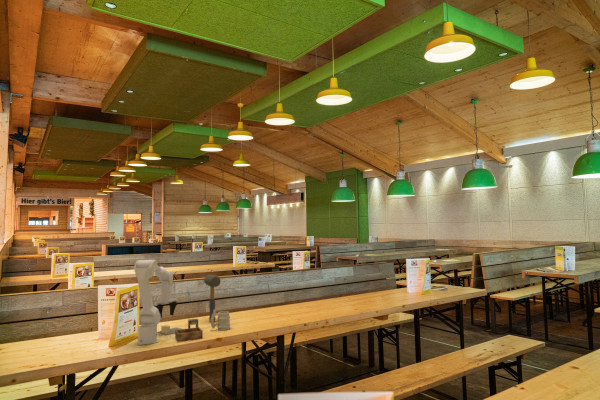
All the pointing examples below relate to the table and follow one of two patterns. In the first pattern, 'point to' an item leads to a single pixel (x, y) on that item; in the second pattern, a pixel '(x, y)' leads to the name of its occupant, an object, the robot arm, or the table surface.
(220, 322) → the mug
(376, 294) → the table surface
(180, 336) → the toolbox
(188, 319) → the latch bar
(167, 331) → the lid
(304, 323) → the table surface
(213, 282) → the rubber mallet
